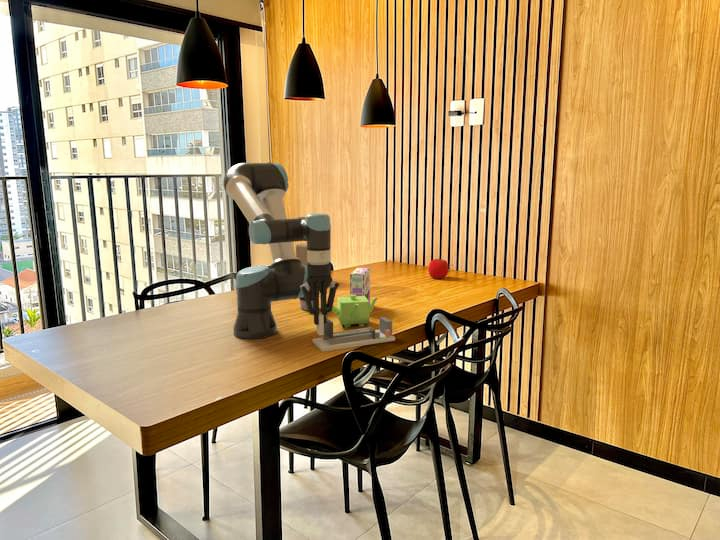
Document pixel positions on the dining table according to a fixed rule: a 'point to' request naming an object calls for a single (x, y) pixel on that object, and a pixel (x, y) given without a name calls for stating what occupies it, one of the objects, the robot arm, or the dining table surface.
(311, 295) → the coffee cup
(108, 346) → the dining table surface
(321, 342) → the base
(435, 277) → the tomato
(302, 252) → the wooden block
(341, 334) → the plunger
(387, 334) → the small salmon eraser
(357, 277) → the candy box
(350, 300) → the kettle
